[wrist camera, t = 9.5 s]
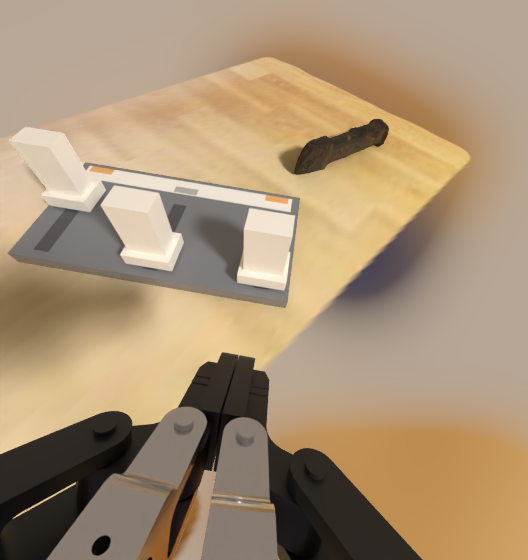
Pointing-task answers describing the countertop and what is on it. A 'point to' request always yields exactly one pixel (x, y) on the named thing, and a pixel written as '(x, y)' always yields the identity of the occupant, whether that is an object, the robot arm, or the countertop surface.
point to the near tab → (266, 249)
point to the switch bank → (183, 219)
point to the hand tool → (340, 146)
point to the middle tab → (142, 228)
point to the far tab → (58, 169)
